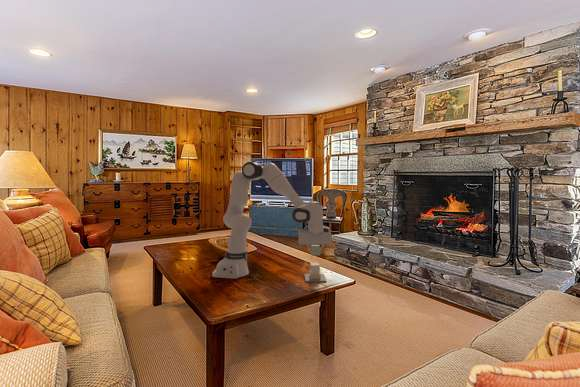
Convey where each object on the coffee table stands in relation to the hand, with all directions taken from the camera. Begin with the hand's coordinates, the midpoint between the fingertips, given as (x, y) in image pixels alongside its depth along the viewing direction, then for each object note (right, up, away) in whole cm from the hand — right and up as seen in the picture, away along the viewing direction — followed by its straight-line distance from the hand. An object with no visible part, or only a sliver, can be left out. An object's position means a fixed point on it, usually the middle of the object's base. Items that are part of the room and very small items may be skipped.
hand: (315, 251), depth 184 cm
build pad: (0, -17, +1) cm, 17 cm away
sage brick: (0, -2, 0) cm, 2 cm away
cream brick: (0, -13, +1) cm, 13 cm away
